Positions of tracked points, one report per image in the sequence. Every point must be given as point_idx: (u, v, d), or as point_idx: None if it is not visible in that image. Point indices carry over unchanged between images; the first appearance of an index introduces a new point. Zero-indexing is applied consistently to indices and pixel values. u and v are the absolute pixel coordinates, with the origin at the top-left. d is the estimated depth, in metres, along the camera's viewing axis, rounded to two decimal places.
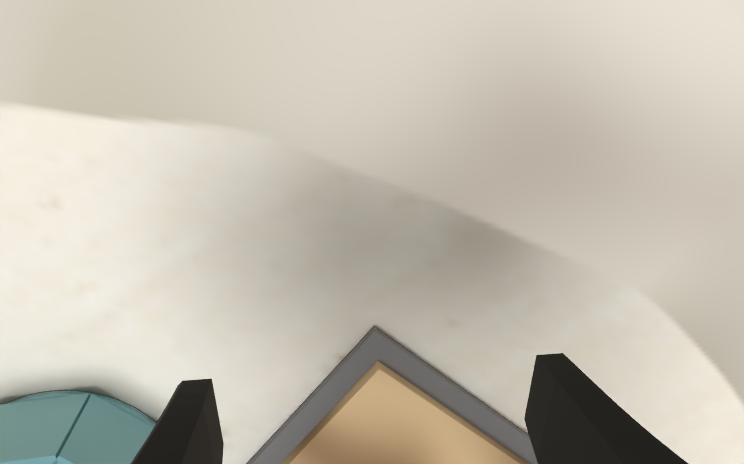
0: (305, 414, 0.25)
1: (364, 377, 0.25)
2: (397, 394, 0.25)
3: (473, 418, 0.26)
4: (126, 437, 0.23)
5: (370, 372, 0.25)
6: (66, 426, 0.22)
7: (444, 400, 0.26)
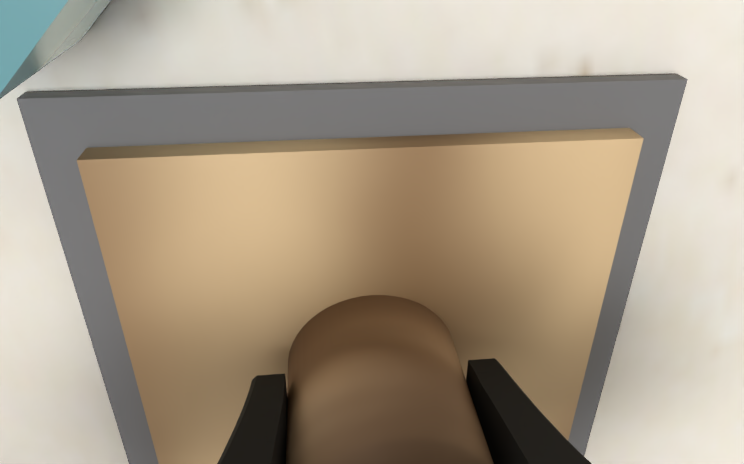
0: (450, 99, 0.12)
1: (593, 132, 0.12)
2: (605, 201, 0.13)
3: None
4: None
5: (609, 132, 0.12)
6: None
7: None
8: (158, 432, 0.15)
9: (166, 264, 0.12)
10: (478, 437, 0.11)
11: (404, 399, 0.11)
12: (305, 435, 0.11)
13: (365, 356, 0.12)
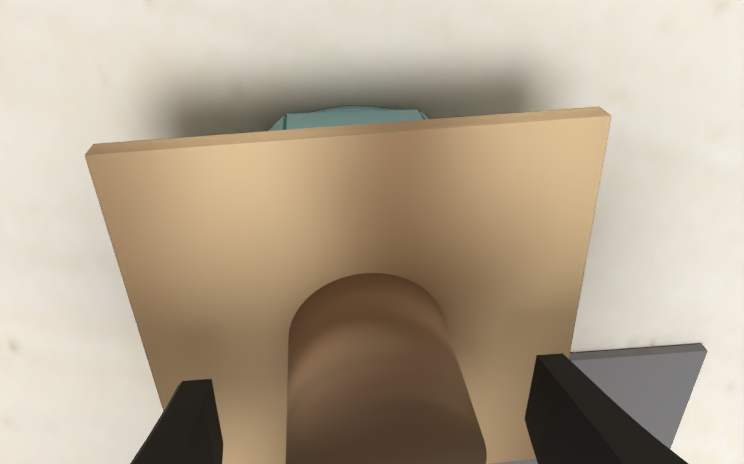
0: (583, 364, 0.22)
1: (564, 112, 0.13)
2: (579, 177, 0.13)
3: None
4: None
5: (580, 111, 0.13)
6: None
7: (657, 436, 0.25)
8: None
9: (171, 250, 0.13)
10: (462, 398, 0.12)
11: (391, 364, 0.12)
12: (302, 400, 0.12)
13: (356, 327, 0.12)
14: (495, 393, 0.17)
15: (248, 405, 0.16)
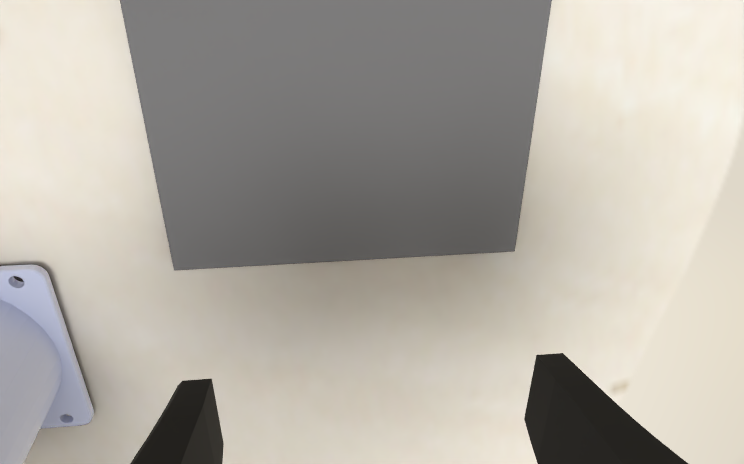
0: None
1: None
2: None
3: (518, 86, 0.20)
4: None
5: None
6: None
7: (523, 32, 0.19)
8: None
9: None
10: None
11: None
12: None
13: None
14: None
15: None
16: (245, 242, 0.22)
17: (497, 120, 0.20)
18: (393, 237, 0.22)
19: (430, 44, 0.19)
